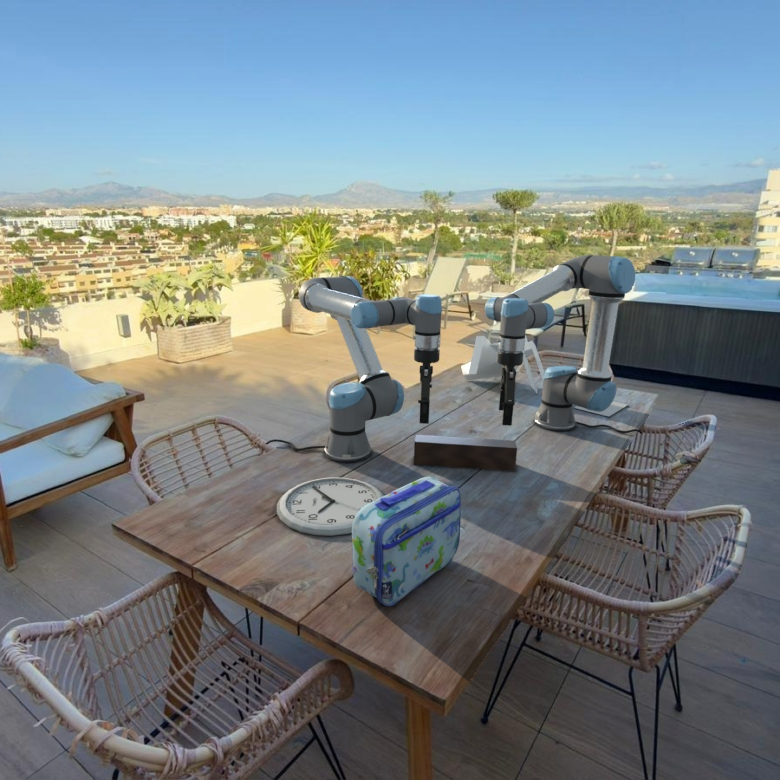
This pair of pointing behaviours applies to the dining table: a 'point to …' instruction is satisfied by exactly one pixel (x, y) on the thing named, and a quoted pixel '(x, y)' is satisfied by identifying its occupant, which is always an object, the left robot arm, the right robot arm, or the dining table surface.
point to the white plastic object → (487, 362)
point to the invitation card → (609, 411)
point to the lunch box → (405, 538)
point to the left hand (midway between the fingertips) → (424, 415)
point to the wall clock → (325, 505)
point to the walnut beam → (465, 452)
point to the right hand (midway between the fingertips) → (504, 417)
